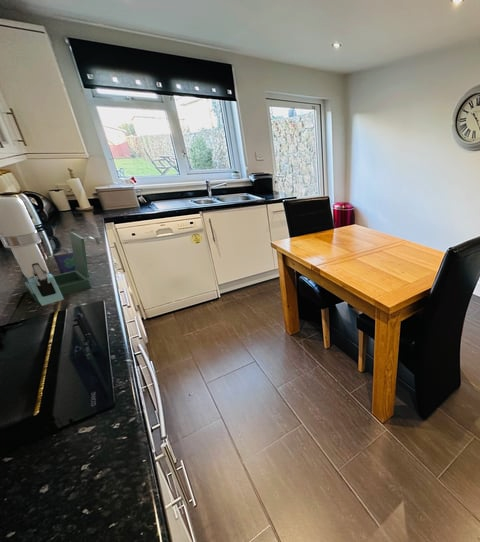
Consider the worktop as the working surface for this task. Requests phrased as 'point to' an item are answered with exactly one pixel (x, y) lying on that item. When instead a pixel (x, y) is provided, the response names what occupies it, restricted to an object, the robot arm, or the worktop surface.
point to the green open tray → (66, 283)
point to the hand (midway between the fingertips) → (47, 292)
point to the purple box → (65, 261)
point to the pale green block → (46, 299)
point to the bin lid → (80, 253)
